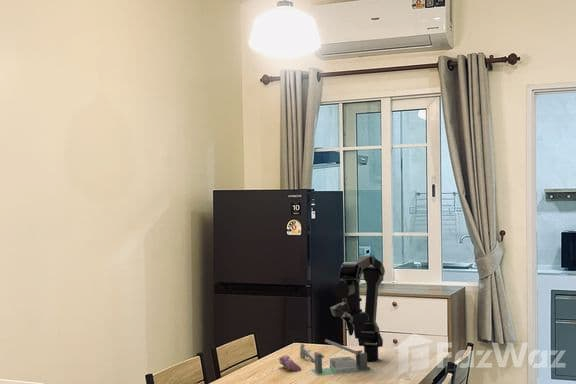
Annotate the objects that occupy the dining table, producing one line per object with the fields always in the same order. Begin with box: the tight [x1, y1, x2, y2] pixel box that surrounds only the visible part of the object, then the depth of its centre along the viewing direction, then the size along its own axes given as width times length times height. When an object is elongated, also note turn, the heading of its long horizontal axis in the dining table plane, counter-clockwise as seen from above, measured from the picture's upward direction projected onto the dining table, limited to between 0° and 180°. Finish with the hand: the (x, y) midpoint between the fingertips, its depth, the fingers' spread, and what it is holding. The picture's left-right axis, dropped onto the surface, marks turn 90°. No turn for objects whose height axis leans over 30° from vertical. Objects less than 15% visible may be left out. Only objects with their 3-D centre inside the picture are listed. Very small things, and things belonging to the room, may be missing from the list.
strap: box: [324, 338, 361, 356], centre depth 255 cm, size 3×16×2 cm, turn 104°
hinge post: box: [355, 350, 371, 371], centre depth 257 cm, size 7×4×6 cm, turn 14°
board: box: [310, 367, 374, 377], centre depth 255 cm, size 10×22×1 cm, turn 104°
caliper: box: [299, 343, 315, 364], centre depth 273 cm, size 20×1×6 cm, turn 22°
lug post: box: [314, 351, 325, 373], centre depth 253 cm, size 4×2×7 cm, turn 14°
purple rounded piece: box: [278, 355, 302, 372], centre depth 259 cm, size 10×5×7 cm, turn 23°
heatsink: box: [329, 356, 357, 374], centre depth 255 cm, size 8×8×4 cm
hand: (353, 336), depth 254 cm, fingers open, 6 cm apart
